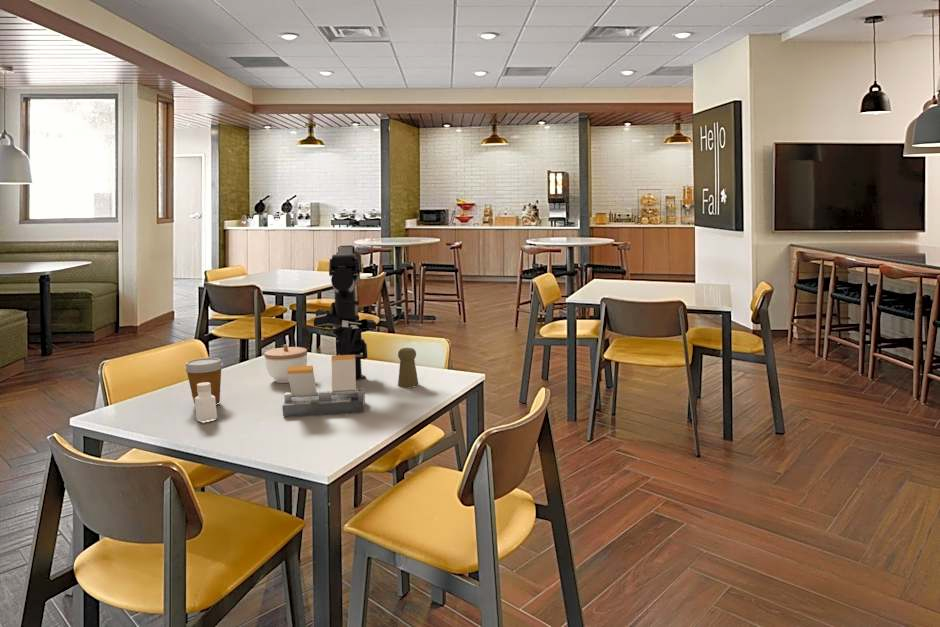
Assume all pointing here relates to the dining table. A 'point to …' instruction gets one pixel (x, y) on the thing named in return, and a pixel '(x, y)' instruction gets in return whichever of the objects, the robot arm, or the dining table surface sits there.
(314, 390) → the white orange-topped slab
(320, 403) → the light switch frame
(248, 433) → the dining table surface
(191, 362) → the disposable coffee cup
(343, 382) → the panel
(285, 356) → the lidded bowl
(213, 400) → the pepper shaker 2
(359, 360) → the robot arm
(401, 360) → the pepper shaker
